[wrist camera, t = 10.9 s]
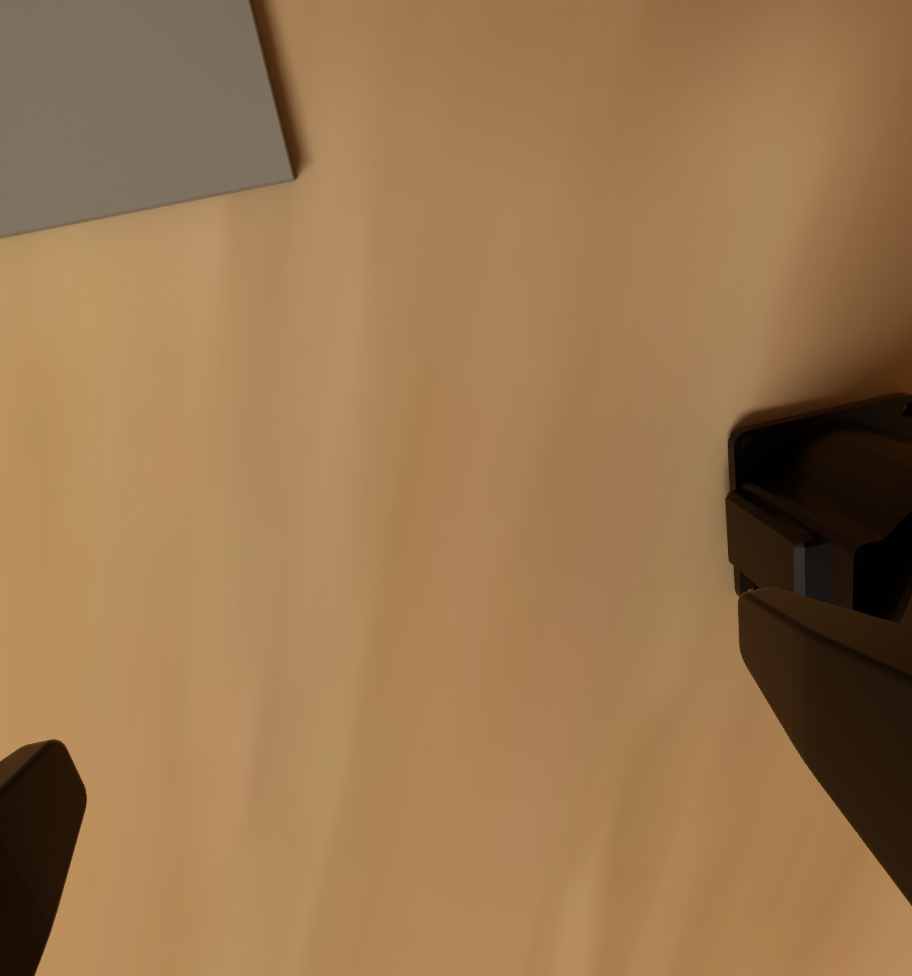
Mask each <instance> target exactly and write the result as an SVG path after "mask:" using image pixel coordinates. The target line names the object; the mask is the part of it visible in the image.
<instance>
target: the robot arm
mask: <svg viewBox="0 0 912 976" xmlns="http://www.w3.org/2000/svg"><path fill="white" fill-rule="evenodd" d="M905 404H907V407H906V410H905V411H904V412H903V413H901V410H902V407H903V406H904V405H905ZM748 437H749V439H750V441H749V445H748V446H747V447H746V448H744V449H742V448H741V444H742V442H743V441H744V439H746V438H748ZM728 459H729V479H730V492H729V493H728V495H727V497H726V499H725V500H726V520H727V539H728V558H729V562H730V563H731V564H733V565H734V581H735V591H736V594H737V595H738V596H739V600H738V622H739V646H740V652H741V655H742V658H743V660H744V663H745V665H746V666H747V668H748V670H749V671H750V673H751V675H752V676H753V678H754V680H755V681H756V683H757V685H758V686H759V688H760V690H761V691H762V693H763V695H764V697H765V698H766V700H767V702H768V703H769V705H770V707H771V708H772V710H773V712H774V713H775V715H776V717H777V718H778V720H779V722H780V723H781V725H782V727H783V728H784V730H785V732H786V733H787V735H788V737H789V738H790V740H791V742H792V743H793V745H794V747H795V748H796V750H797V751H798V753H799V754H800V756H801V758H802V759H803V761H804V762H805V764H806V765H807V766H808V768H809V769H810V771H811V772H812V773H813V775H814V776H815V778H816V779H817V780H818V782H819V783H820V784H821V786H822V787H823V788H824V790H825V791H826V792H827V794H828V795H829V796H830V798H831V799H832V800H833V802H834V803H835V804H836V806H837V807H838V808H839V810H840V811H841V812H842V814H843V815H844V816H845V818H846V819H847V820H848V822H849V823H850V824H851V826H852V827H853V828H854V830H855V831H856V832H857V834H858V835H859V836H860V838H861V839H862V840H863V842H864V843H865V844H866V846H867V847H868V848H869V849H870V851H871V852H872V853H873V855H874V856H875V857H876V859H877V860H878V861H879V863H880V864H881V865H882V867H883V868H884V869H885V871H886V872H887V873H888V875H889V876H890V877H891V879H892V880H893V881H894V883H895V884H896V885H897V887H898V888H899V889H900V891H901V892H902V893H903V895H904V896H905V897H906V899H907V900H908V901H909V903H910V904H911V905H912V394H909V393H897V394H893V395H888V396H883V397H879V398H874V399H870V400H865V401H860V402H856V403H851V404H847V405H842V406H838V407H833V408H828V409H824V410H819V411H815V412H810V413H805V414H801V415H796V416H792V417H787V418H783V419H778V420H773V421H769V422H764V423H760V424H755V425H750V426H746V427H741V428H739V429H737V430H735V431H734V432H733V433H732V434H731V436H730V438H729V440H728ZM753 585H755V587H754V589H753V590H751V591H748V589H749V588H750V587H751V586H753ZM86 802H87V795H86V789H85V786H84V784H83V782H82V780H81V777H80V775H79V773H78V771H77V769H76V767H75V765H74V763H73V760H72V758H71V756H70V754H69V752H68V750H67V748H66V746H65V745H64V744H63V743H62V742H61V741H59V740H55V739H52V740H47V741H42V742H38V743H33V744H28V745H25V746H23V747H21V748H19V749H18V750H16V751H15V752H13V753H12V754H10V755H9V756H7V757H6V758H4V759H3V760H2V761H0V976H35V973H36V971H37V968H38V965H39V963H40V960H41V957H42V955H43V952H44V949H45V947H46V944H47V941H48V938H49V935H50V933H51V930H52V926H53V923H54V920H55V917H56V913H57V910H58V907H59V903H60V900H61V896H62V892H63V889H64V885H65V882H66V878H67V874H68V871H69V867H70V864H71V860H72V856H73V853H74V849H75V845H76V842H77V838H78V835H79V831H80V827H81V824H82V820H83V817H84V813H85V809H86Z"/></svg>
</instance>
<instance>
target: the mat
mask: <svg viewBox="0 0 912 976" xmlns="http://www.w3.org/2000/svg"><path fill="white" fill-rule="evenodd" d="M290 181H295V176H294V172H293V168H292V164H291V160H290V156H289V152H288V148H287V144H286V140H285V136H284V132H283V128H282V124H281V120H280V116H279V112H278V108H277V104H276V100H275V96H274V92H273V88H272V84H271V80H270V76H269V72H268V68H267V64H266V60H265V56H264V52H263V48H262V44H261V40H260V36H259V32H258V28H257V24H256V20H255V16H254V12H253V8H252V4H251V0H0V238H5V237H10V236H15V235H21V234H26V233H31V232H36V231H41V230H46V229H51V228H56V227H61V226H66V225H71V224H76V223H82V222H87V221H92V220H97V219H102V218H107V217H112V216H117V215H122V214H127V213H132V212H137V211H143V210H148V209H153V208H158V207H163V206H168V205H173V204H178V203H183V202H188V201H193V200H198V199H204V198H209V197H214V196H219V195H224V194H229V193H234V192H239V191H244V190H249V189H254V188H259V187H265V186H270V185H275V184H280V183H285V182H290Z"/></svg>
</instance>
